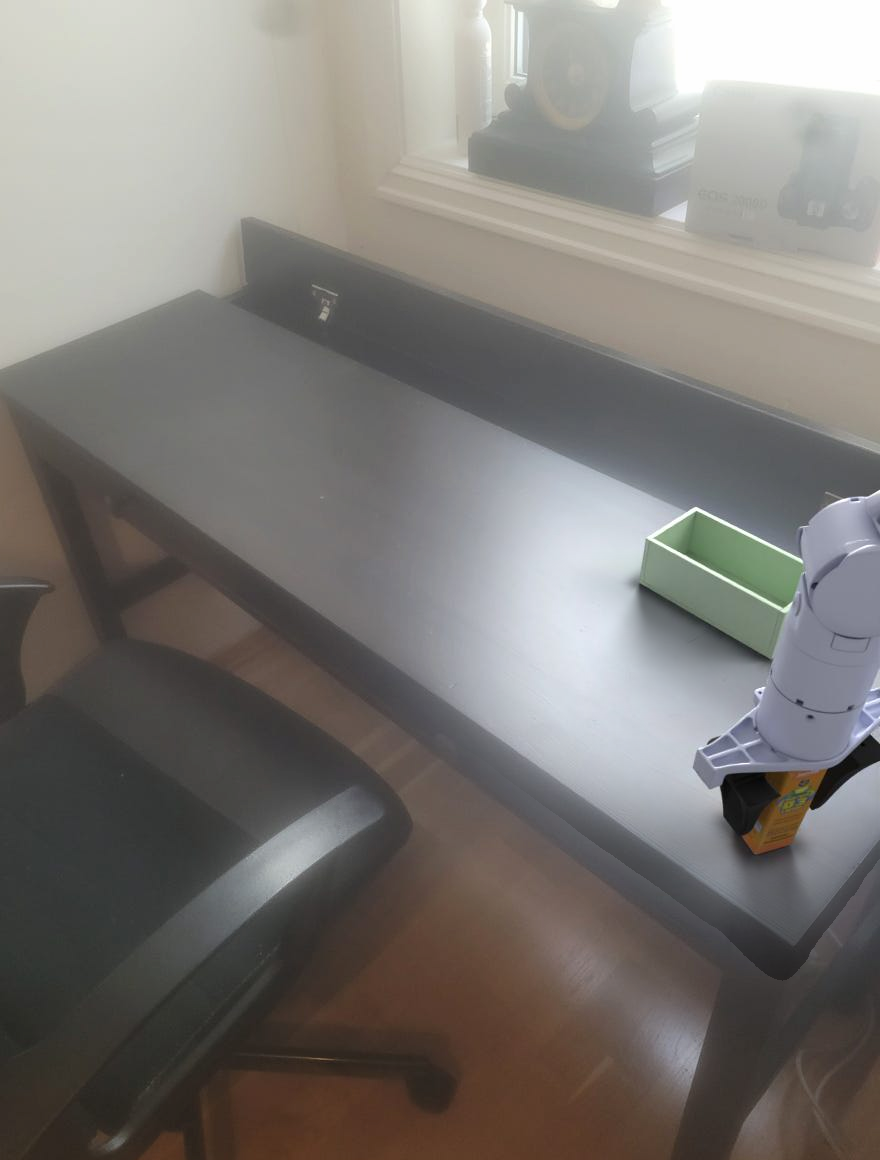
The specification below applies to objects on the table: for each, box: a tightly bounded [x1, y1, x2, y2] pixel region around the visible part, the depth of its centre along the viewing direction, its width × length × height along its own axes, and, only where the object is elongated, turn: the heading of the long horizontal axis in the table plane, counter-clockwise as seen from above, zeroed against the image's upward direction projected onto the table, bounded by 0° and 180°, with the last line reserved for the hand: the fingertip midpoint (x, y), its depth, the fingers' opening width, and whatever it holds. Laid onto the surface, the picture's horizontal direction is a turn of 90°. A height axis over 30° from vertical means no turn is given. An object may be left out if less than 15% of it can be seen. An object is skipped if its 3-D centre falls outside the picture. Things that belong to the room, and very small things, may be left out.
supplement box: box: [741, 769, 827, 855], centre depth 63 cm, size 3×4×10 cm
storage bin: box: [638, 506, 804, 660], centre depth 84 cm, size 15×8×6 cm, turn 39°
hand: (771, 811), depth 65 cm, fingers open, 5 cm apart
